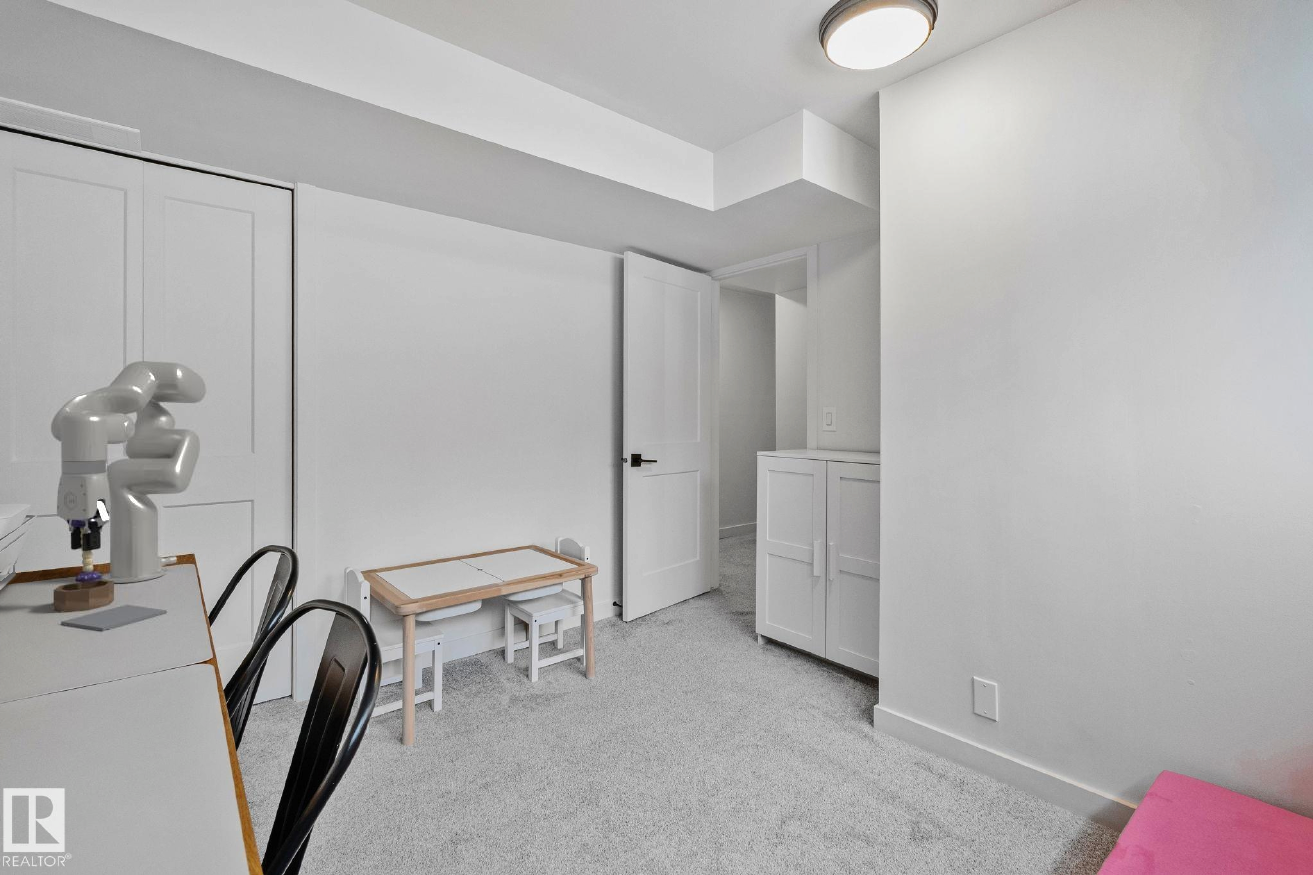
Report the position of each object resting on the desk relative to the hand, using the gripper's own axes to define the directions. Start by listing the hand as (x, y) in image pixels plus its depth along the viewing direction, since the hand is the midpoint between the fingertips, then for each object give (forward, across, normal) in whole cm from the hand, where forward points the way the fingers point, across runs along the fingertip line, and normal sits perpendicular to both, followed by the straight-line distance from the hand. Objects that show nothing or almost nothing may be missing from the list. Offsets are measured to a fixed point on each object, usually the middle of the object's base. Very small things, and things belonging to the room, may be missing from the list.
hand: (85, 548), depth 135 cm
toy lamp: (+7, 0, 0) cm, 7 cm away
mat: (+12, +16, -5) cm, 21 cm away
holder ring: (+13, 0, -1) cm, 13 cm away
